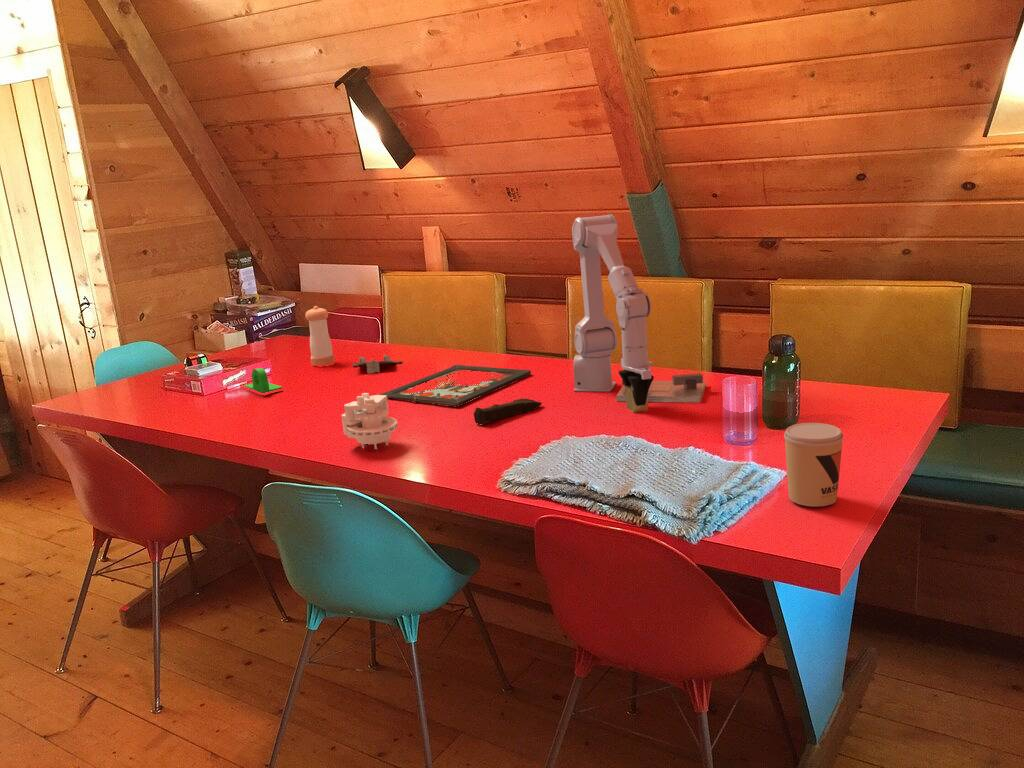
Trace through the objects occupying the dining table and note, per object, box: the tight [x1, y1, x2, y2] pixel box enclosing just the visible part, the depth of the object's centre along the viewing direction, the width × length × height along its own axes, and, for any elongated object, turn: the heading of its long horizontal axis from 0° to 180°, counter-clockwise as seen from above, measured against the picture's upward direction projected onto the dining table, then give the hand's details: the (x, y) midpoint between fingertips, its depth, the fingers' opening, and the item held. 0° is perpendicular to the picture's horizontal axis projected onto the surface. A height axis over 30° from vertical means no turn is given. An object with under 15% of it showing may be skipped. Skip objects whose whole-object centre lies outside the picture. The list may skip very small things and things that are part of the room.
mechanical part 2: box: [341, 392, 399, 450], centre depth 194 cm, size 11×12×12 cm
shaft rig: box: [615, 372, 707, 404], centre depth 218 cm, size 20×14×5 cm
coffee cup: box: [783, 422, 844, 508], centre depth 149 cm, size 9×9×12 cm
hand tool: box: [473, 398, 543, 426], centre depth 210 cm, size 19×4×5 cm
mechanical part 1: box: [243, 367, 283, 393], centre depth 250 cm, size 12×6×8 cm, turn 42°
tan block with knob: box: [626, 385, 649, 414], centre depth 207 cm, size 4×4×7 cm
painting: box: [378, 364, 532, 407], centre depth 240 cm, size 28×35×2 cm
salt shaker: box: [304, 305, 336, 366], centre depth 275 cm, size 7×7×19 cm
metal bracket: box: [352, 354, 403, 374], centre depth 267 cm, size 14×6×15 cm
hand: (636, 402), depth 207 cm, fingers closed on tan block with knob, 4 cm apart
